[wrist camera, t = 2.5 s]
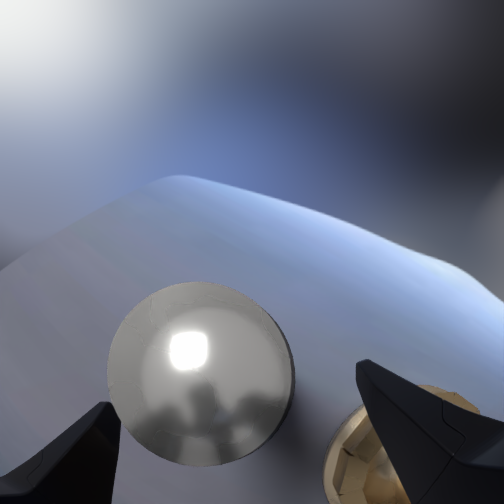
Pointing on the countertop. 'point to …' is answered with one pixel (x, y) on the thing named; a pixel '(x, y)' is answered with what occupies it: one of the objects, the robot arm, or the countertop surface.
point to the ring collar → (367, 460)
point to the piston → (200, 374)
